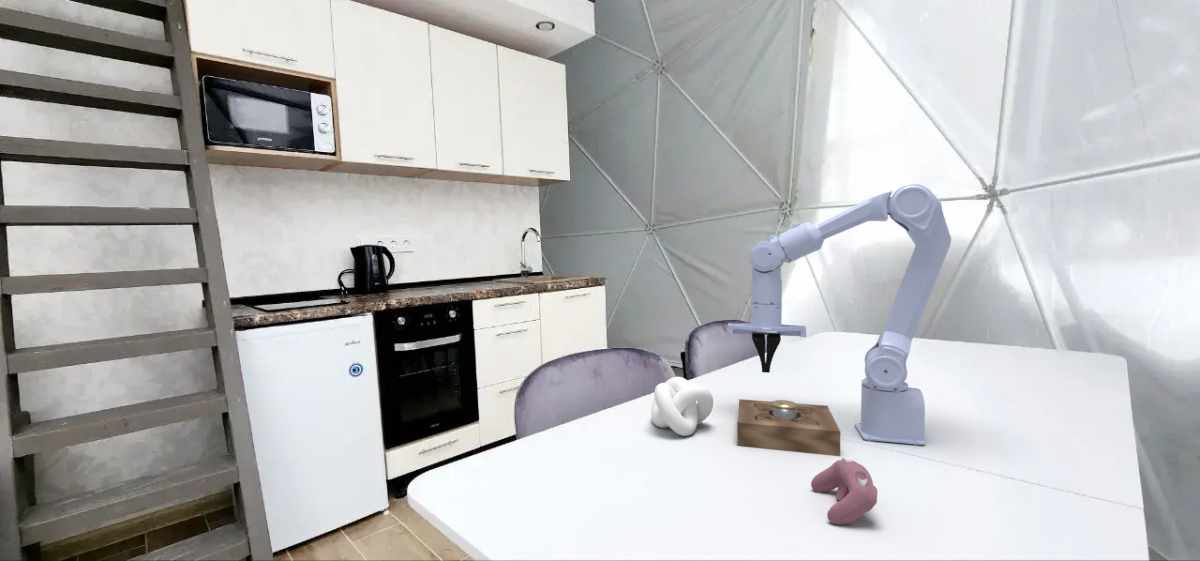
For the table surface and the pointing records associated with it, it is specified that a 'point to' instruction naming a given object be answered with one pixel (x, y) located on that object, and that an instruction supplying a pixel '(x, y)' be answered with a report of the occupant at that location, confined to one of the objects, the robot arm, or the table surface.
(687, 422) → the white knot sculpture
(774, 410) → the brass capped cylinder
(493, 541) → the table surface
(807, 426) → the jig
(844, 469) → the video game controller
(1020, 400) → the table surface
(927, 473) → the table surface
